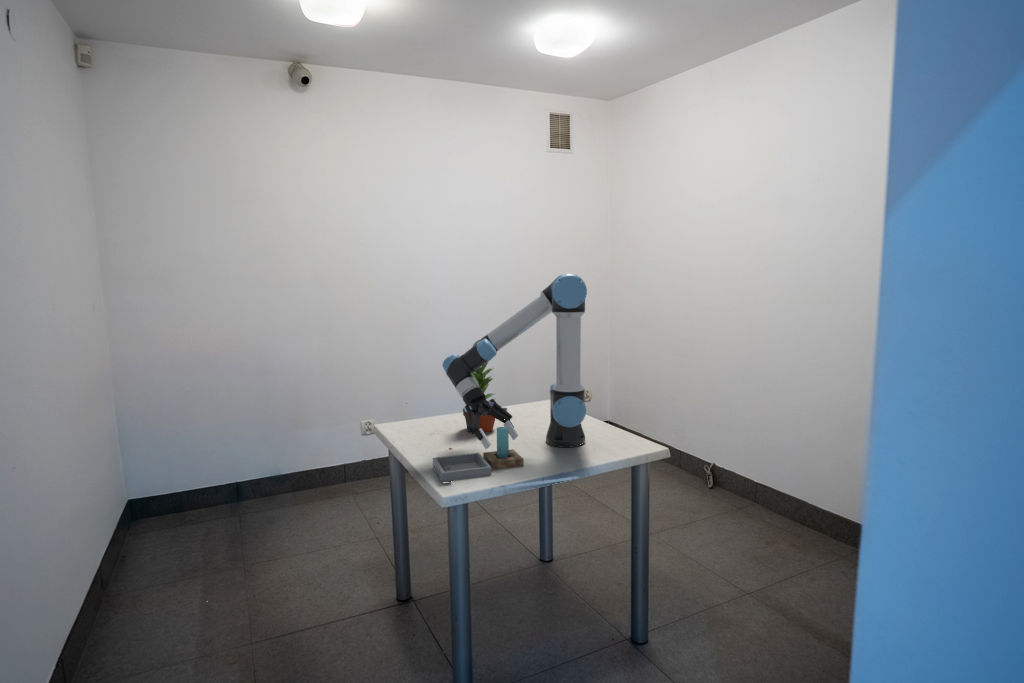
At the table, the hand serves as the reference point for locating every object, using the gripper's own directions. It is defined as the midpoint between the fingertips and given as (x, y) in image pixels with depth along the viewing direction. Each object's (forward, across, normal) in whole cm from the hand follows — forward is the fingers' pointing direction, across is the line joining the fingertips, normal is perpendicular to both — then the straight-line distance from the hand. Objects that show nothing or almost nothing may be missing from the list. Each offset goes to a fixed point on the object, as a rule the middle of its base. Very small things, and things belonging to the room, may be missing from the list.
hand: (502, 442), depth 192 cm
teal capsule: (+5, 0, -5) cm, 7 cm away
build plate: (-26, -49, -39) cm, 68 cm away
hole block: (+6, 0, -6) cm, 8 cm away
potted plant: (-21, -27, -33) cm, 47 cm away
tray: (+2, +14, -10) cm, 17 cm away
